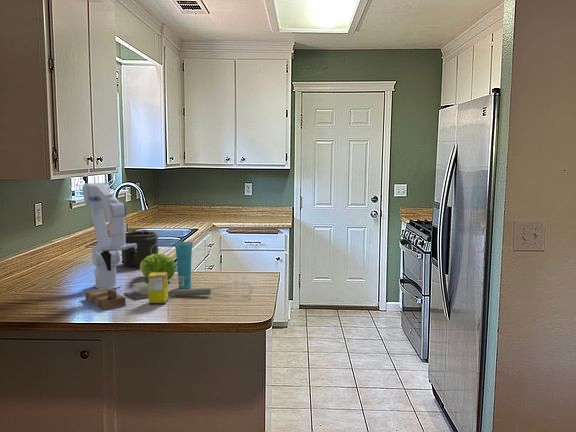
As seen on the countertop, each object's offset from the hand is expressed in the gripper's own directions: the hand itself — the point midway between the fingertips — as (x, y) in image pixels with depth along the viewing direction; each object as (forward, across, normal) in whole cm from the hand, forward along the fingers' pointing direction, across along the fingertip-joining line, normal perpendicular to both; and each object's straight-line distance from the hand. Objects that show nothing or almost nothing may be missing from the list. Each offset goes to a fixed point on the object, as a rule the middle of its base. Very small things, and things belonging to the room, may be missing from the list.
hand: (118, 269), depth 201 cm
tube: (+11, +25, -6) cm, 28 cm away
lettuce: (+10, +22, +15) cm, 29 cm away
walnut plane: (+10, -8, -6) cm, 14 cm away
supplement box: (+11, +7, -19) cm, 23 cm away
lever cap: (+10, +7, -5) cm, 13 cm away
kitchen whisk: (+11, +26, -24) cm, 37 cm away
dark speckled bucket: (+10, +31, +49) cm, 59 cm away
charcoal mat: (+10, +7, -5) cm, 13 cm away
